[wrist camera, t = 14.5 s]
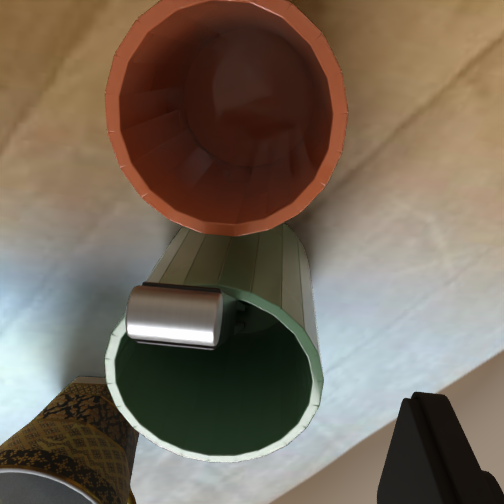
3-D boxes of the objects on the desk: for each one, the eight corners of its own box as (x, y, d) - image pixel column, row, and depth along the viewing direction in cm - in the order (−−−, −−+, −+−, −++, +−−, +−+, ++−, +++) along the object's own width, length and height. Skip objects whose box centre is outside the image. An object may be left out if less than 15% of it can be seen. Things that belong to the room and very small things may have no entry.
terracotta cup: (331, 26, 23) (367, -8, 13) (311, 177, 26) (328, 245, 16) (178, 14, 23) (97, -28, 13) (177, 166, 27) (111, 225, 16)
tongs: (258, 173, 26) (217, 307, 9) (247, 323, 30) (201, 628, 12) (226, 170, 26) (123, 298, 9) (218, 320, 30) (133, 620, 13)
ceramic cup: (16, 404, 35) (-80, 523, 26) (87, 332, 32) (6, 440, 23) (139, 491, 38) (93, 625, 29) (216, 433, 35) (191, 565, 26)
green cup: (318, 211, 27) (338, 296, 17) (300, 341, 31) (308, 473, 21) (166, 197, 27) (97, 272, 17) (166, 327, 31) (110, 451, 21)
